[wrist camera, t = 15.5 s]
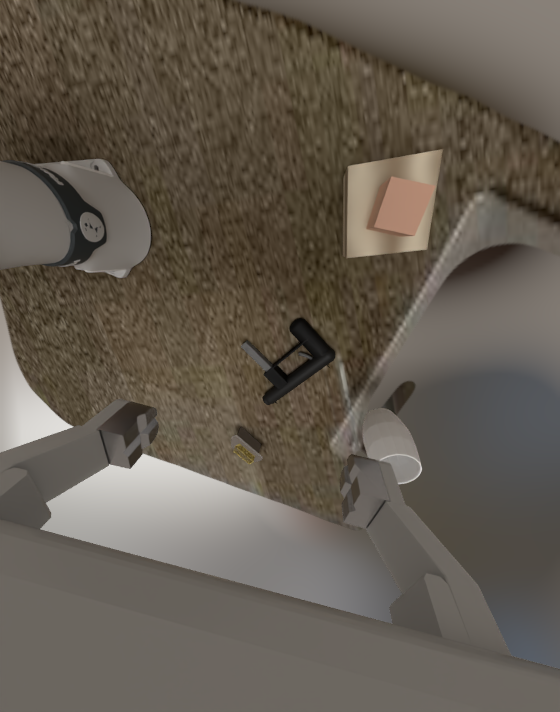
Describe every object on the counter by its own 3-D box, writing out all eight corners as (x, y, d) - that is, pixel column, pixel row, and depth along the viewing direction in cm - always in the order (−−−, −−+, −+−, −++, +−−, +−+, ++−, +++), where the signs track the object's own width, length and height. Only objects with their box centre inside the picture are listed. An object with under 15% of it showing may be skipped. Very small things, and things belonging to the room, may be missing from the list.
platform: (256, 462, 67) (251, 483, 61) (212, 424, 63) (201, 443, 57) (286, 446, 62) (283, 467, 57) (240, 404, 58) (232, 422, 52)
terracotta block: (365, 228, 32) (374, 227, 27) (380, 186, 30) (391, 176, 25) (400, 236, 32) (414, 235, 27) (417, 194, 29) (435, 185, 25)
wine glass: (356, 368, 48) (382, 446, 30) (390, 376, 48) (436, 459, 30) (345, 395, 52) (362, 479, 33) (377, 402, 51) (411, 491, 33)
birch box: (342, 255, 39) (346, 258, 34) (343, 177, 34) (348, 166, 29) (411, 248, 37) (426, 249, 32) (421, 164, 32) (442, 149, 27)
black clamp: (222, 363, 50) (272, 411, 53) (287, 302, 42) (342, 363, 45) (228, 357, 53) (275, 403, 56) (289, 299, 45) (341, 356, 48)
